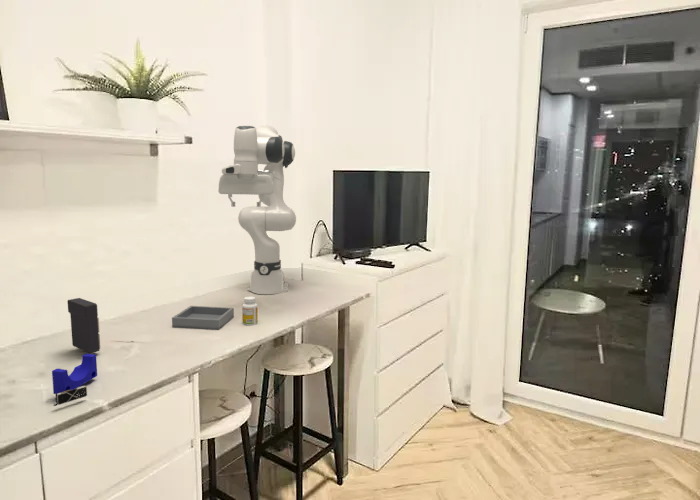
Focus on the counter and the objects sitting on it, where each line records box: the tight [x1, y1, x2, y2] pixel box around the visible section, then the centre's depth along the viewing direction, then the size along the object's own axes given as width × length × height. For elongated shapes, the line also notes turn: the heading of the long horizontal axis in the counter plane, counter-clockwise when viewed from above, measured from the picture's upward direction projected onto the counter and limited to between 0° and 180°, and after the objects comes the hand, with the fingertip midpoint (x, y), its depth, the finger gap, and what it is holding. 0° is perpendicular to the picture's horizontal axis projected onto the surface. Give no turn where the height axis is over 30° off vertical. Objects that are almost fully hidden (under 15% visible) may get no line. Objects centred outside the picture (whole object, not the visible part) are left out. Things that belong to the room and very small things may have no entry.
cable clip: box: [51, 353, 98, 395], centre depth 128 cm, size 12×4×6 cm, turn 169°
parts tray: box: [171, 305, 235, 331], centre depth 182 cm, size 16×17×4 cm
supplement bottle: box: [241, 296, 258, 326], centre depth 181 cm, size 5×5×10 cm
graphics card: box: [53, 385, 88, 407], centre depth 119 cm, size 7×1×3 cm, turn 139°
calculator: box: [67, 297, 101, 354], centre depth 152 cm, size 11×4×15 cm, turn 54°
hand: (246, 206), depth 188 cm, fingers open, 8 cm apart
